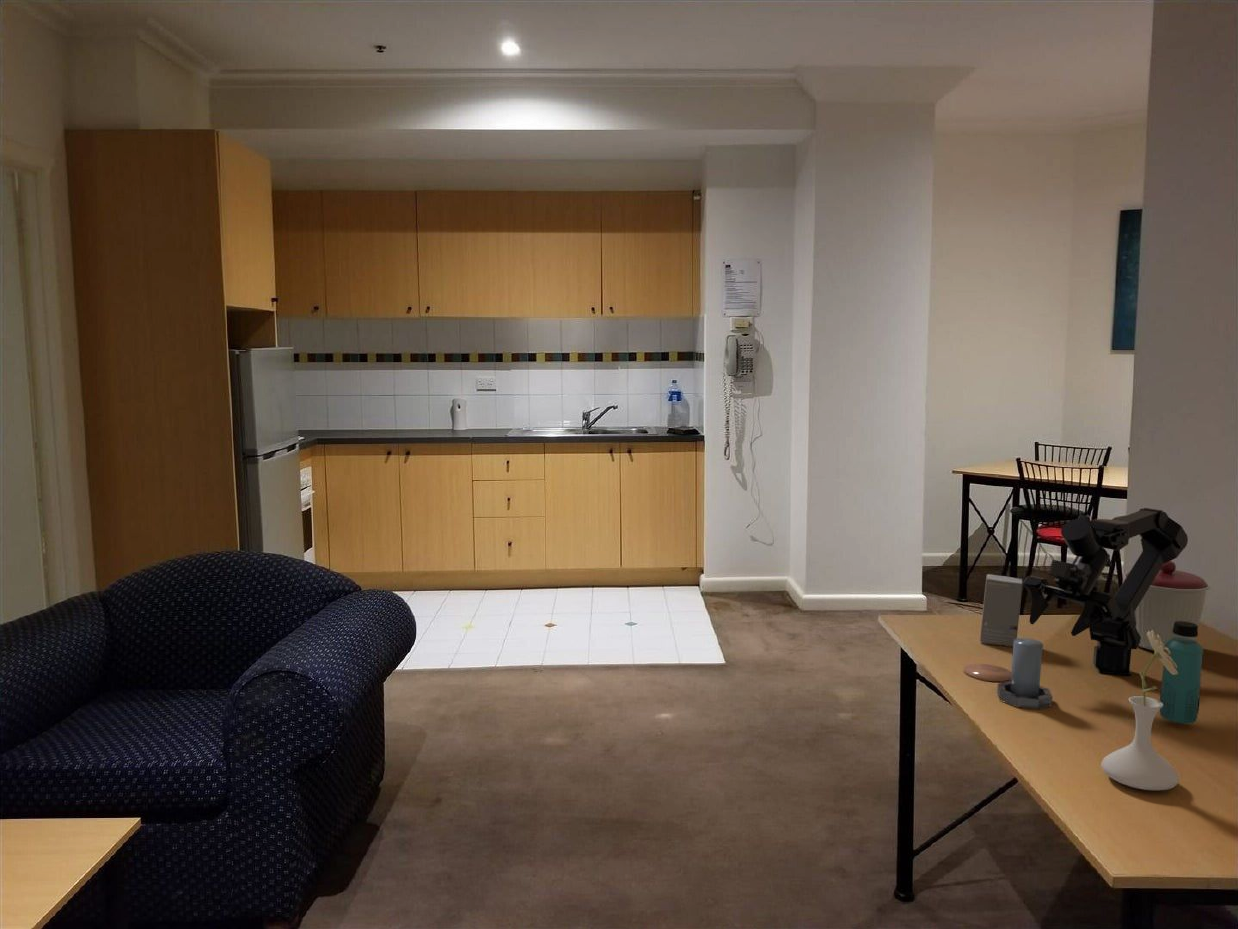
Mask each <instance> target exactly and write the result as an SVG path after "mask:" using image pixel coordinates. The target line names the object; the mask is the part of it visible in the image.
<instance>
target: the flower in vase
mask: <svg viewBox="0 0 1238 929" xmlns="http://www.w3.org/2000/svg"><path fill="white" fill-rule="evenodd" d="M1147 636H1148V639H1149V641H1150V644H1151V646H1152V648H1153V649H1154V651H1153V652H1154V653H1153V655H1152V657H1151V659H1150V660H1149V661H1148V662H1147V665H1146V666H1145V668H1144V670H1143V673H1142V671H1140V672H1139V676H1140V679H1141V683H1142V684H1141V686H1142V690H1140V691H1139V692H1140V693H1142V696H1140V695H1139V696H1138V695H1136V696H1135V695H1134V696H1130V697H1129V698H1128V701H1129V703H1130V704H1131V707H1132V708H1133V711H1134V716H1135V732H1134V737H1133V740H1132V741H1131V743H1130V744H1128V745H1126V746H1124V747H1122V748H1119V749H1117V750H1114V751H1113V752H1111V753H1109V754H1107V755H1106V756H1104V758H1103V759H1102V761H1101V763H1100V765H1101V769H1102V770H1103V772H1104V774H1105V775H1107V776H1108V777H1109V778H1110V779H1112V780H1114V781H1117V782H1118V783H1120V784H1122V785H1125V786H1128V787H1130V788H1133V789H1138V790H1139V789H1140V790H1145V791H1166V790H1171V789H1173V788H1174V787H1176V786H1177V785H1178V784H1179V782H1180V779H1179V774H1178V772H1177V771H1176V770H1175V769H1174V767H1173V766H1172V765H1171V764H1170V763H1169V762H1168V761H1167V760H1166V759H1165V758H1164V757H1163V756H1162V755H1160V754H1159V753H1158V752H1157V751H1156V749H1155V748H1154V747H1153V745H1152V742H1151V735H1152V734H1151V733H1152V727H1153V723H1154V719H1155V717H1156V714H1157V713H1158V712H1159V711H1160V709H1161V708H1162V707H1163V703H1162V702H1160V701H1161V700H1157V699H1156V698H1152V697H1148V696H1146V692H1149V691H1153V690H1158V687H1157V686H1156V685H1153V686H1152V687H1149V688H1148V686H1147V681H1146V680H1145V678H1146V677H1145V676H1146V673H1147V672H1148V670H1149V667H1150V666H1151V665H1152V663H1153V661H1154V660H1155V658H1157V659H1159V661H1160V662H1161V663H1162V666H1165V667H1166V669H1167V670H1168V671H1169V672H1170V673H1171V674H1172V675H1175V674H1178V672H1177V670H1176V669H1175V668H1174V667H1176V668H1177V665H1176V664H1175V662H1174V661H1173V660H1172V658H1171V657H1170V656H1169V655H1170V651H1169V649H1168V648H1166V647H1165V648H1164V645H1163V643H1162V642H1161V638H1160V636H1159V635H1157V638H1156V635H1155V633H1154V631H1153V630H1152V631H1151V632H1150V631H1149V632H1148V633H1147Z"/></svg>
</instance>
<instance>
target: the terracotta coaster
mask: <svg viewBox="0 0 1238 929" xmlns="http://www.w3.org/2000/svg"><path fill="white" fill-rule="evenodd" d="M1011 672H1012V671H1011V670H1010V669H1007V668H1005V667H1002V666H998V665H994V664H990V663H989V664H988V663H987V664H986V663H970V664H966V665H965V666H963V673H964V675H966V676H968V677H969V678H973V679H975V680H980V681H985V682H990V681H1004V682H1008V680H1009V681H1011Z"/></svg>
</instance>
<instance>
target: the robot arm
mask: <svg viewBox="0 0 1238 929" xmlns="http://www.w3.org/2000/svg"><path fill="white" fill-rule="evenodd" d="M1060 534H1061V537H1062V538H1063V540H1064V542H1065V544H1066V545H1067V547H1068V549H1069V550H1070V552H1071V553H1072V555H1074V556H1075V558H1074V560H1073V561H1072V563H1071V562H1066V561H1060V560H1056V559H1053V560H1052V561H1051V565H1050V567H1049V570H1048V574H1047V575H1048V576H1052V577H1053V578H1055V579H1053V581H1054V583H1055V585H1058V586H1057V587H1055V586H1051V585H1050V583H1049V581H1048V580H1047V579H1046V578H1045V577H1040V576H1036V575H1033V574H1032V575H1027V576H1026V578H1025V579H1024V580H1023V581H1022V586H1023V587H1024V588H1025V590H1026V591H1027V593H1028V595H1029V596H1030V598H1031V607H1030V608H1031V609H1030V613H1029V615H1030V616H1029V621H1028V622H1029V623H1030V625H1034V624H1035V623H1036V622H1038V620H1039V618H1040V617H1041V616H1042V614H1043V613H1044V612H1045V611H1046V609H1047V608H1048V607H1049V605H1050V604H1049V602H1050V601H1051V600H1052V598H1053V597H1055V598H1057V599H1058V598H1059V599H1063V600H1067V601H1071V602H1074V603H1077V604H1081V605H1083V610H1082V612H1081V613H1080V615H1079V616H1078V618H1077V620H1076V622H1075V623H1074V625H1073V627H1072V629H1071V631H1070V634H1071V636H1073V637H1076V636H1078V635H1079V634H1081V633H1082V632H1084V631H1085V630H1087V629H1088V630H1089V636H1090V640H1091V641H1096V642H1097V643H1096V644H1097V645H1095V646H1093V647H1094V648H1093V658H1092V664H1093V665H1094V668H1096V670H1097V672H1098V673H1100V674H1101V673H1102V674H1110V675H1113V674H1114V675H1119V676H1120V675H1122V676H1130V677H1131V676H1132V672H1131V671H1130V668H1131V656H1132V650H1137V649H1138V647H1140V646H1139V644H1140V640H1141V636H1140V635H1139V633H1138V631H1137V629H1136V627H1135V626H1136V618H1135V610H1136V608H1137V607H1138V605H1139V603H1140V602H1141V600H1142V599H1143V597H1144V595H1145V594H1146V592H1147V590H1148V589H1149V587H1150V585H1151V584H1152V582H1153V580H1154V579H1155V577H1156V576H1157V574H1158V572H1159V571H1160V569H1161V567H1162V566H1163V564H1164V563H1167V562H1169V561H1173V560H1175V559H1177V558H1178V557H1179V555H1181V553H1182V552H1183V551H1184V550H1185V548H1187V545H1188V542H1189V541H1188V540H1189V536H1188V534H1187V532H1186V531H1185V530H1184V528H1183V526H1182V525H1181V524H1180V523H1178V522H1176V521H1175V520H1173V519H1172V518H1170V516H1169V515H1168V514H1167V512H1165V511H1163V510H1161V509H1156V508H1149V507H1144V508H1140V509H1139V510H1138V511H1135V512H1132V513H1130V514H1127V515H1125V516H1124V515H1123V516H1121V517H1118V518H1116V519H1105V518H1100V519H1099V518H1095V519H1093V520H1091V518H1090V517H1089V516H1085V515H1078V518H1076V519H1073V520H1072V519H1071V520H1070V521H1068V522H1066V523H1065V524H1063V526H1061V529H1060ZM1136 536H1140V543H1141V548H1142V551H1141V553H1140V554H1139V557H1138V558H1137V559H1136V561H1135V563H1133V564H1134V565H1133V566H1132V568H1131V569H1130V571H1128V572H1129V574H1128V576H1127V577H1126V579H1124V580H1123V582H1122V583H1121V586H1120V587H1119V588H1118V590H1117V592H1116V593H1115V595H1114V596H1113V595H1112V593H1109V592H1104V591H1100V590H1096V589H1097V588H1098V587H1099V585H1100V583H1099V582H1098V580H1099V579H1100V576H1101V575H1102V572H1103V571H1104V570H1105V568H1112V566H1113V565H1112V560H1111V557H1110V556H1111V555H1110V553H1108V551H1107V550H1113V551H1120V550H1122V549H1123V548H1125V547H1126V546H1128V545H1129V539H1131V538H1134V537H1136ZM1106 549H1107V550H1106ZM1093 588H1094V589H1095V590H1093Z"/></svg>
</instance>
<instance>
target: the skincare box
mask: <svg viewBox="0 0 1238 929" xmlns="http://www.w3.org/2000/svg"><path fill="white" fill-rule="evenodd" d="M1022 590H1023V579H1022V578H1019V577H1018V578H1017V577H1011V576H1005V575H996V574H989V573H988V574H986V579H985V587H984V595H983V596H984V597H983V604H982V605H983V606H982V615H981V626H980V627H981V628H980V638H979V641H980V643H981V644H988V645H996V646H1002V645H1005V646H1004V647H1011V646H1012V648H1013V644H1014V640H1015V639H1018V630H1019V621H1020V613H1021V603H1022V602H1021V601H1022V594H1023V592H1022Z"/></svg>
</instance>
